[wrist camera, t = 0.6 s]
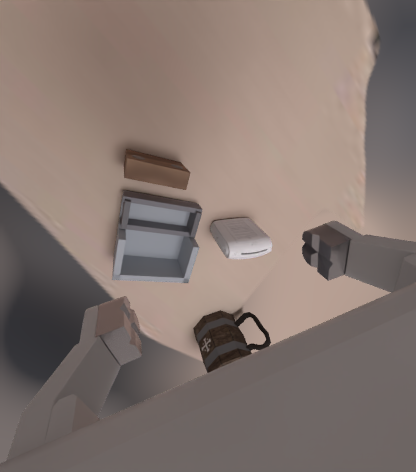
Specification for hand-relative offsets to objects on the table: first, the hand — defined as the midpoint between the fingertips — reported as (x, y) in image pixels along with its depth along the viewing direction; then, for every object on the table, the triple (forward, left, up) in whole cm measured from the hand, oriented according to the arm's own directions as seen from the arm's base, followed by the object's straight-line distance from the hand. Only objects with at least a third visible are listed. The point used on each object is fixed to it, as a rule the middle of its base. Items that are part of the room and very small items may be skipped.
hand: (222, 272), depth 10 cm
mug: (+45, +31, -39) cm, 67 cm away
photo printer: (+13, +22, -39) cm, 47 cm away
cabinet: (+17, +5, -39) cm, 43 cm away
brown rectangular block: (+3, +2, -39) cm, 39 cm away
